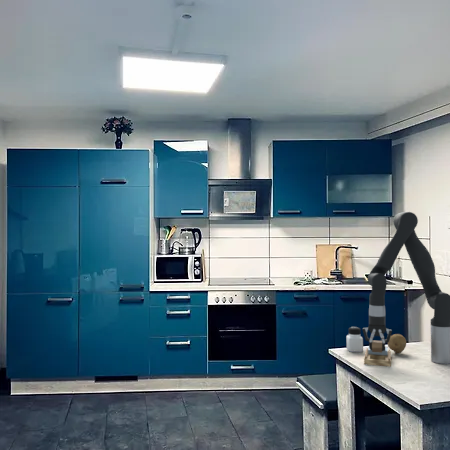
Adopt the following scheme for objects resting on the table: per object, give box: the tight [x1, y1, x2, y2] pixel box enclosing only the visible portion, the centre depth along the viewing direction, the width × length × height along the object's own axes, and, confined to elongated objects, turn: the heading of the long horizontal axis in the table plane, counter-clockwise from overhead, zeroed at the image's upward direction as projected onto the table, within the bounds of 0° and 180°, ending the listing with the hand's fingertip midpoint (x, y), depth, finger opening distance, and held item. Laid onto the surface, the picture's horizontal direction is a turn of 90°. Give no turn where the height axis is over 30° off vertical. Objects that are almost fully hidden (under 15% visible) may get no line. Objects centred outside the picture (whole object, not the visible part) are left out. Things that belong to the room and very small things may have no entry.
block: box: [372, 340, 382, 353], centre depth 232 cm, size 4×4×4 cm
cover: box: [367, 346, 389, 355], centre depth 240 cm, size 9×8×4 cm
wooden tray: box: [363, 347, 392, 368], centre depth 236 cm, size 12×19×4 cm, turn 161°
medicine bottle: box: [346, 326, 364, 353], centre depth 256 cm, size 7×7×12 cm
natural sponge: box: [387, 333, 407, 355], centre depth 249 cm, size 9×9×10 cm
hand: (377, 350), depth 232 cm, fingers closed on block, 4 cm apart
